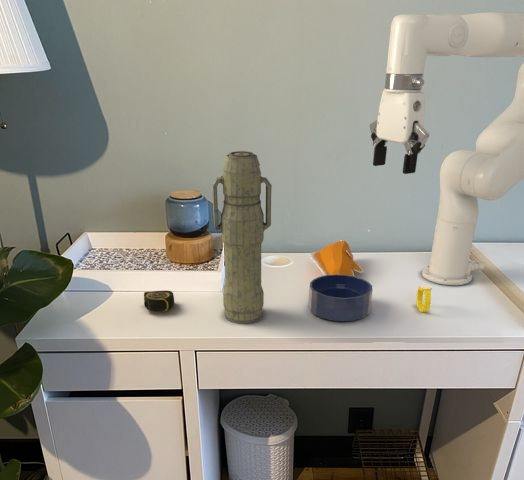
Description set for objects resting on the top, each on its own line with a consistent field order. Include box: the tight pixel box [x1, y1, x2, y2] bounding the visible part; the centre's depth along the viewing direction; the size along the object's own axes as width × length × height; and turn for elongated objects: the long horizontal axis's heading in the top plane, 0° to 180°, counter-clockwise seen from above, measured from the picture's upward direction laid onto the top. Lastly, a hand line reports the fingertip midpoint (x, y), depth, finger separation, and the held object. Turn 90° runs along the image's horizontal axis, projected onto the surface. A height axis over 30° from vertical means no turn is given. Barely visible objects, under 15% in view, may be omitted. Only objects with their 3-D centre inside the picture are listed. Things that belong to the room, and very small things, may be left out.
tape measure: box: [143, 290, 175, 313], centre depth 127 cm, size 7×7×4 cm
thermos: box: [211, 150, 273, 325], centre depth 117 cm, size 9×12×35 cm
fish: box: [309, 239, 365, 277], centre depth 144 cm, size 7×27×15 cm
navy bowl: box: [308, 274, 373, 322], centre depth 127 cm, size 14×14×6 cm
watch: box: [416, 283, 433, 313], centre depth 127 cm, size 6×3×6 cm, turn 3°
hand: (393, 169), depth 123 cm, fingers open, 9 cm apart
